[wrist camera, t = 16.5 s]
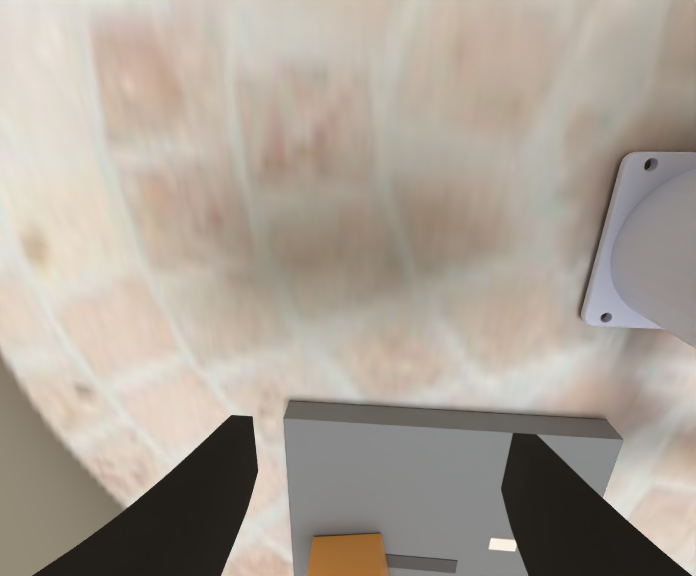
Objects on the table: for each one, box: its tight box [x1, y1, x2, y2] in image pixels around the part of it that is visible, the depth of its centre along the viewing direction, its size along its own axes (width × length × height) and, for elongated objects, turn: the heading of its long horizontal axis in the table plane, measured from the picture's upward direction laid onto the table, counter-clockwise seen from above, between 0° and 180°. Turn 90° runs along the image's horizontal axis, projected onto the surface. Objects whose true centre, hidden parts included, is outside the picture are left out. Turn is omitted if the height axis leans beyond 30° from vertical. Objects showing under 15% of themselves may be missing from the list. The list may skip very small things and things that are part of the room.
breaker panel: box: [283, 401, 623, 576], centre depth 22 cm, size 18×14×2 cm
